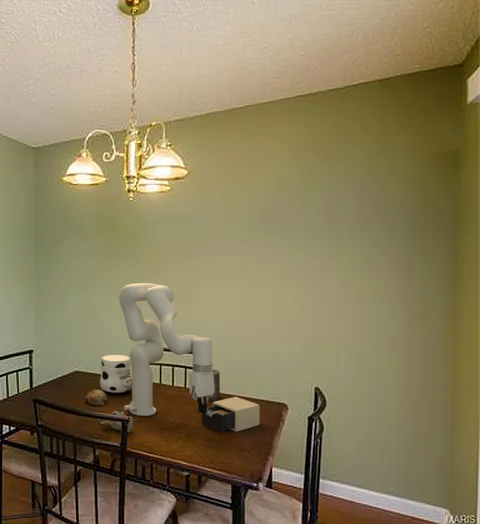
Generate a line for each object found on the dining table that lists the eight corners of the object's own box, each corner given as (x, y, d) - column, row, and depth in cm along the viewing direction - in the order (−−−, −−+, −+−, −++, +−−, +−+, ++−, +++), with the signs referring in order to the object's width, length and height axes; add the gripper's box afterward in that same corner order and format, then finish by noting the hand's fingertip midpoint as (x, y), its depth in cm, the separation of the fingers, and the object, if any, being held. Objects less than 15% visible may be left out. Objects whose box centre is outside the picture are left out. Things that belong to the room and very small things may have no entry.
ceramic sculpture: (122, 416, 169) (96, 408, 180) (123, 438, 169) (97, 429, 180) (140, 410, 176) (113, 403, 188) (141, 431, 176) (114, 423, 187)
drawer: (214, 434, 170) (214, 414, 170) (193, 425, 180) (193, 406, 180) (245, 426, 179) (245, 406, 179) (224, 417, 189) (223, 399, 189)
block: (222, 425, 177) (222, 414, 177) (214, 421, 181) (214, 411, 181) (229, 423, 180) (229, 412, 180) (221, 419, 183) (221, 409, 183)
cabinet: (236, 431, 176) (236, 410, 176) (212, 421, 187) (212, 402, 186) (259, 424, 183) (259, 404, 183) (235, 415, 194) (235, 396, 194)
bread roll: (96, 413, 207) (102, 400, 205) (80, 401, 212) (86, 387, 210) (106, 407, 215) (112, 394, 213) (90, 395, 220) (96, 383, 218)
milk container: (133, 396, 222) (133, 361, 222) (100, 396, 222) (100, 361, 222) (130, 386, 239) (130, 354, 239) (99, 386, 240) (99, 354, 240)
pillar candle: (223, 397, 219) (223, 368, 219) (214, 402, 212) (214, 372, 212) (205, 393, 226) (205, 365, 225) (196, 398, 218) (196, 369, 218)
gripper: (208, 363, 181) (209, 406, 181) (182, 368, 174) (182, 413, 174) (222, 367, 175) (222, 412, 175) (195, 372, 168) (195, 418, 168)
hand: (202, 412), depth 174 cm, fingers closed
